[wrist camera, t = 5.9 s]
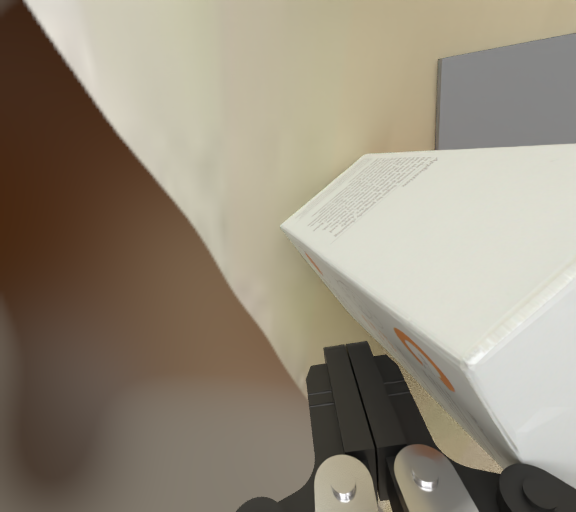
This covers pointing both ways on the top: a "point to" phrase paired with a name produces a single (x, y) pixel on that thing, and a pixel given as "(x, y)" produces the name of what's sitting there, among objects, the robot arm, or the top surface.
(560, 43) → the mat
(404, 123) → the top surface
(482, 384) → the small box
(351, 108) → the top surface
